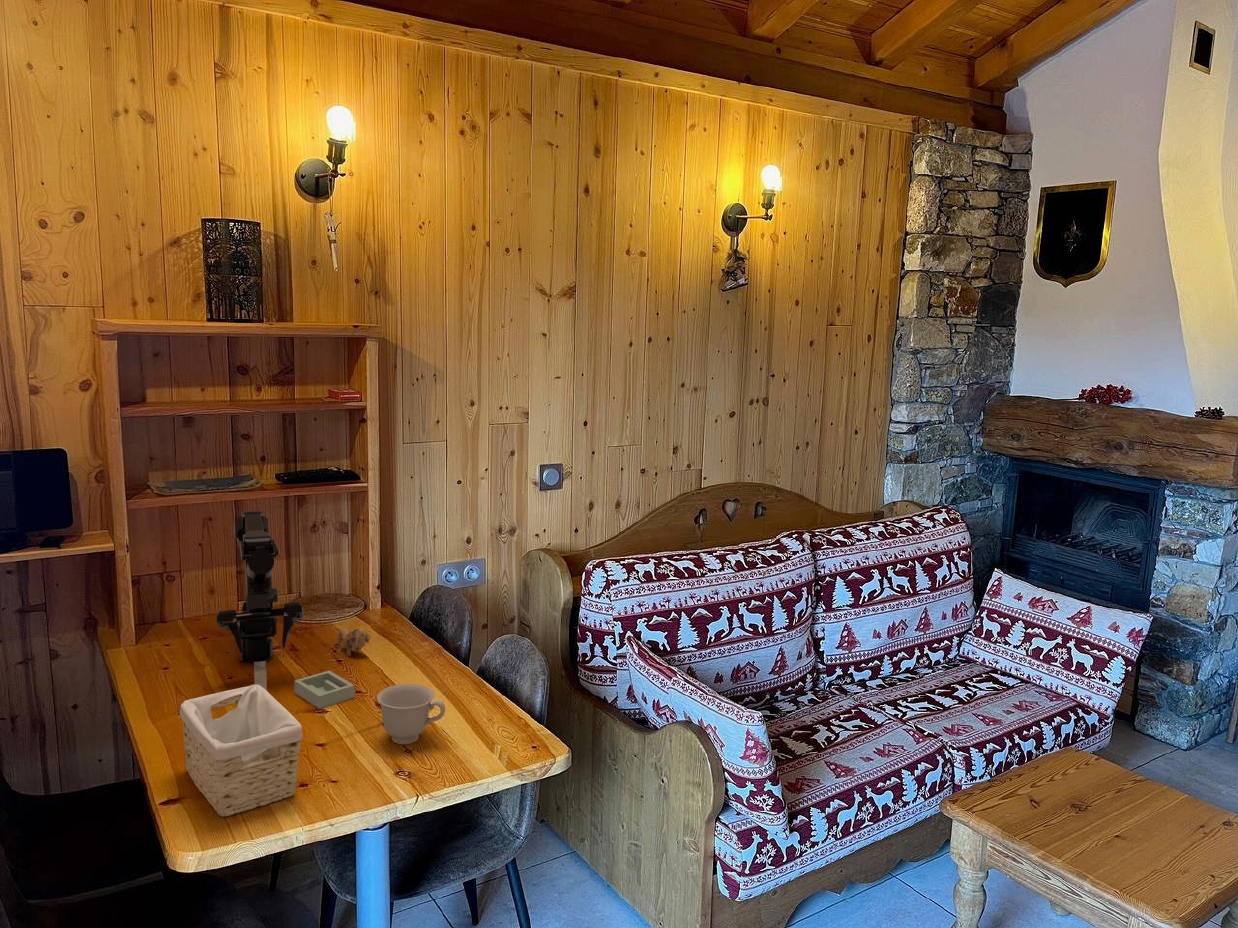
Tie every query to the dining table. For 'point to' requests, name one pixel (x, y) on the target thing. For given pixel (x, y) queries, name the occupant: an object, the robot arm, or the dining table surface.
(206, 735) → the storage basket
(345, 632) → the lion figurine
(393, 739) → the teacup
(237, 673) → the dining table surface
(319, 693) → the storage box
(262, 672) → the rectangular steel block
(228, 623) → the robot arm
